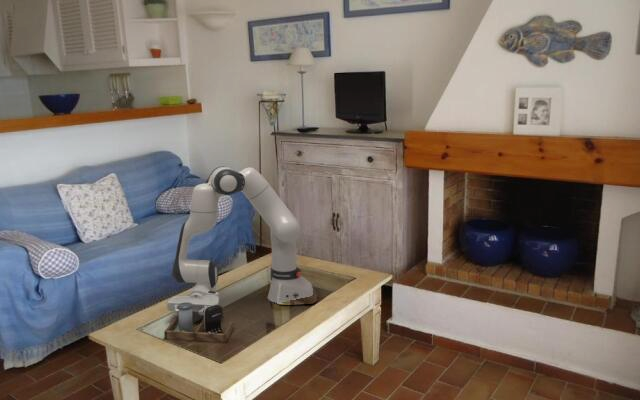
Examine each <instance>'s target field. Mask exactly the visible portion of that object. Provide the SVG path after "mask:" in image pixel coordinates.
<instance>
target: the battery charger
mask: <svg viewBox="0 0 640 400" xmlns="http://www.w3.org/2000/svg"><path fill="white" fill-rule="evenodd" d="M203 318H204V330H203V333H209V332H211V333H219V334H222V332H223V330H222V324H221V323H222V319H223V318H224V310H223V307H222V306H221V305H220V304H219V305H218V304H214V305H210V306H207V307H205V309H204V314H203Z"/></svg>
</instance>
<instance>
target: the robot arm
mask: <svg viewBox="0 0 640 400" xmlns="http://www.w3.org/2000/svg"><path fill="white" fill-rule="evenodd" d="M238 192H241V193H243V195H244V196H245V198H246V199H247V200H248V201H249V202H250V205H252V207H253V208H254V209H255V210H256V211H257V212H258V214H259V215H260V217H261V218H262V219H263V220H264V222H265V224H266V225H267V226H268V227H269V229H270V245H271V267H270V270H269V271H270V272H269V277H270V285H269V290H268V294H267V299H268V301H270V302H272V303H274V302H275V303H274V304H276V303H277V304H284V303H282V302H286V301H290V300H296V299H300V298H305V297H310V296H312V295H313V291H314V288H313V285H312V282H311V281H309V280H308V279H306V278H305V277H303V276H302V269H301V267H297V266H298V265H297V262H298V260H297V259H298V257H297V255H298V250H297V239H298V238H299V237H300V235H301V226H300V223H299V221H298V219H297V218H296V217H295V216H294V214H293V213H292V212H291V210H290V209H289V208H288V207H287V205H285V203H284V201H283V200H282V199H281V198H280V196H279V195H278V194H277V192H276V191H275V190H274V188H273V187H272V186H271V185H270V183H269V182H268V181H267V180H266V178H265V177H264V175H262V174H261V173H260V172H259V171H257V169H255V168H253V167H251V166H250V167H246V168H243V169H242V170H241V171H236V170H234V169H233V168H232V167H231V168H230V167H228V166H218V167H216V168H214V169H213V170H212V171H211V173H210V175H209V176H208V178H207V180H206V182H205V183H200V184H197V185H195V186H194V188H193V189H192V194H191V200H190V212H189V217H188V219H187V220H186V221H185V222H183V224H182V225H181V228H180V232H179V238H178V242H177V246H176V252H175V258H174V261H173V265H172V268H171V269H172V270H171V277H172V278H173V279H174V280H175V281H176V282H177V283H178V284H188V283H193V284H194V286H193V287H192V289H191V290H190V291H189V293H187V295H175V296H172V297H171V298H170V299H168V300H167V304H166V308H167V310H168V311H173V312H174V314H176V315H179V310H178V305H179V304H180V303H185V302H188V303H192V304H193V307H192V313H194V312H195V313H198V315H199V316H204V309H205V307H207V306H210V305H214V304H218V305H220V293H219V292H218V291H216V289H217V283H218V280H219V269H218V266H217V265H216V263H215V262H214V261H213V260H209V259H190V258H188V251H189V246H190V242H191V239H192V238H193V237H195V236H196V235H199V234H200V235H201V234H203V233H206V232H208V231H209V232H210V230H212V229H213V228H214V227H215V226H216V224H217V222H218V216H219V215H218V214H219V211H218V210H219V207H218V206H219V199H220V198H221V196H231V195H234V194H236V193H238ZM277 304H276V305H277Z"/></svg>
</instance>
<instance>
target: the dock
mask: <svg viewBox="0 0 640 400" xmlns="http://www.w3.org/2000/svg"><path fill="white" fill-rule="evenodd" d="M234 325H235V324H234V319H230V321H229V323H228V325H227V327H226V328H225V330H224V332H223V333H220V334H219V333H211V332H209V333H204V317H203V318H202V320H201V322H200V323H199V324H198V325H197V328H196V329H195V331H193V332H185V331H179V329H178V330H175V329H176V328H178V326H179V316H175V317H174V318H173V320H172V321H171V322H170V323H169V325H168V327H166V328H165V330H164V331H163V332H164V333H163V335H164V340H172V341H173V340H175V341H189V342H191V341H192V342H205V343H206V342H208V343H209V342H210V343H227V342H228V339H229V338H230V335H231V333H232V331H233V329H234V328H235V326H234Z"/></svg>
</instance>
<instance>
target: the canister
mask: <svg viewBox="0 0 640 400" xmlns="http://www.w3.org/2000/svg"><path fill="white" fill-rule="evenodd" d="M192 307H193V304H192V303H188V302H185V303H180V304H179V305H178V310H179V314H178V330H179V331H185V332H194V331H193V330H194V329H193V312H192Z"/></svg>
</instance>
